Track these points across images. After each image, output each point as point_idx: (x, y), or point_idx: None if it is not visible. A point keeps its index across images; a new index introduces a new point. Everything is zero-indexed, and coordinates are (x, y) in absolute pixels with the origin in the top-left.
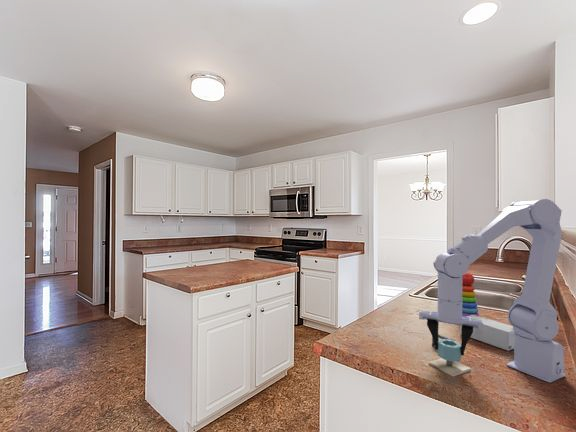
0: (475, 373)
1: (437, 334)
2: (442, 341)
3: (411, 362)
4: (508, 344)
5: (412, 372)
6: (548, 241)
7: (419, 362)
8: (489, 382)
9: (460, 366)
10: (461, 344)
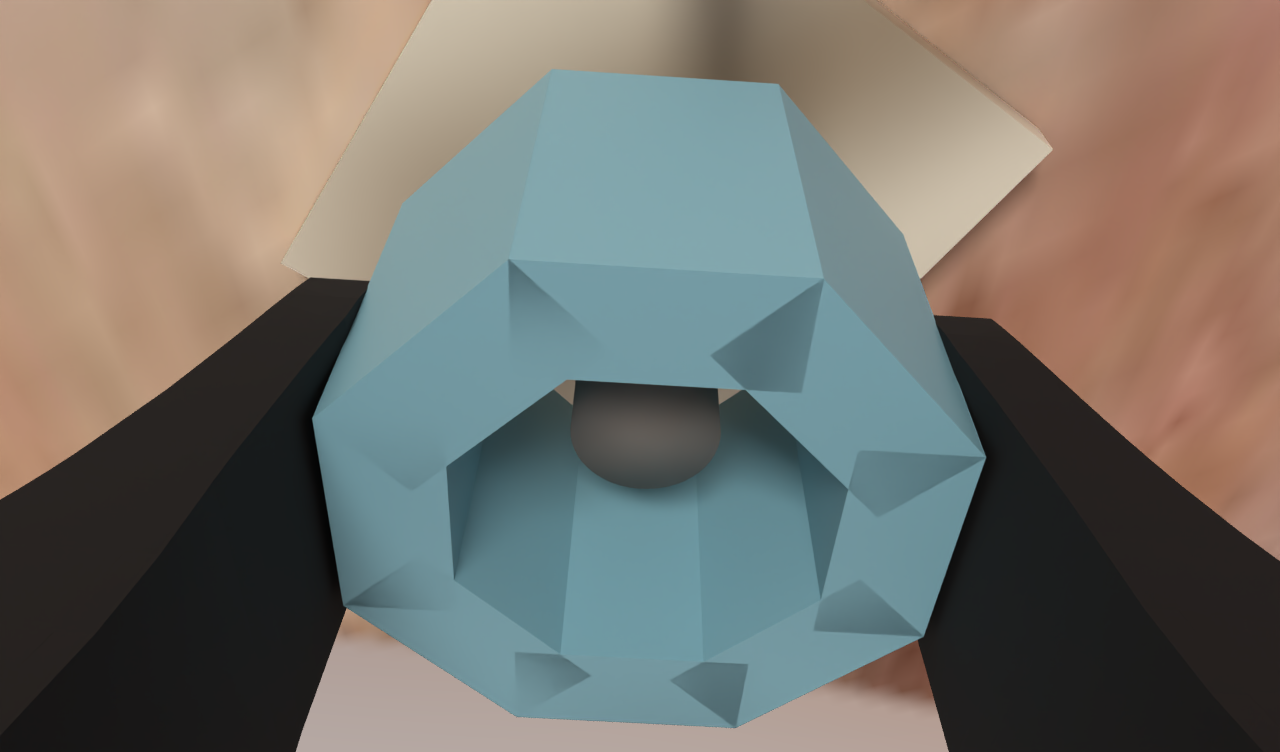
0: (1091, 200)
1: (244, 734)
2: (444, 502)
3: (28, 310)
4: None
5: None
6: None
7: (136, 245)
8: (1209, 396)
9: (857, 174)
10: (951, 745)
